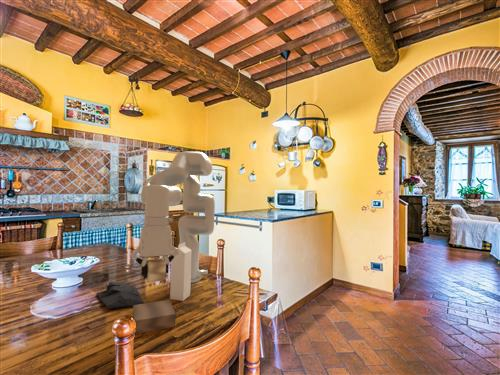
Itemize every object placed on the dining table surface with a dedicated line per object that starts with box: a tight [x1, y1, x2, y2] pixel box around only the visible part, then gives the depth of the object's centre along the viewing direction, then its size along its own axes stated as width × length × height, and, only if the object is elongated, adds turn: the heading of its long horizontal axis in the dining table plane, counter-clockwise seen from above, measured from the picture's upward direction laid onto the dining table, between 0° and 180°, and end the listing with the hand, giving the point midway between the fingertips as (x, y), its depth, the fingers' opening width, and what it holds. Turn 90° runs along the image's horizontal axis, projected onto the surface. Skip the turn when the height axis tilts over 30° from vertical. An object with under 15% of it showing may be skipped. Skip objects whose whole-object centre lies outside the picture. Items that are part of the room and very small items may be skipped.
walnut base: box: [132, 299, 177, 335], centre depth 85 cm, size 12×12×4 cm
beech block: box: [145, 257, 167, 283], centre depth 85 cm, size 5×5×6 cm
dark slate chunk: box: [96, 281, 145, 310], centre depth 103 cm, size 15×22×5 cm
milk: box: [169, 242, 192, 302], centre depth 106 cm, size 6×6×22 cm
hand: (154, 276), depth 86 cm, fingers closed on beech block, 5 cm apart
